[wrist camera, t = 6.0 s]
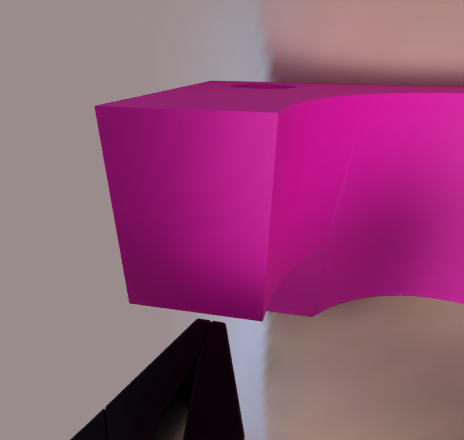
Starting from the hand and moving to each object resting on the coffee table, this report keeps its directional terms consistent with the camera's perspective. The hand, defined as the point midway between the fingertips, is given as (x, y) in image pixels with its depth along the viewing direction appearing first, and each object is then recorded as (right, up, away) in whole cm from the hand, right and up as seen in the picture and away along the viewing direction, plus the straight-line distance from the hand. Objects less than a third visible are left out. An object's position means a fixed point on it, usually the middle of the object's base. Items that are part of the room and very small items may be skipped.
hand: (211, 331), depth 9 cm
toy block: (+7, +5, +3) cm, 9 cm away
